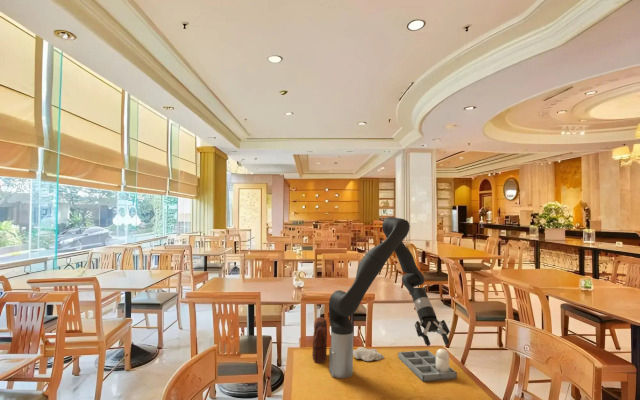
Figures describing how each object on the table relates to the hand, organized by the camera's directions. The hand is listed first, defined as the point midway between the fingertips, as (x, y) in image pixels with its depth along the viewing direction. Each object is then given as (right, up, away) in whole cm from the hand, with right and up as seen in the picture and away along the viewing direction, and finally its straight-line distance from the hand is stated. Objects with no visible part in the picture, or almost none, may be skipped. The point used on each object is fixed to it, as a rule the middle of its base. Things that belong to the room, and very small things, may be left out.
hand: (438, 344), depth 142 cm
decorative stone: (-28, -12, +13) cm, 33 cm away
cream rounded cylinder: (0, -10, -4) cm, 11 cm away
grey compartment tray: (-4, -11, +3) cm, 12 cm away
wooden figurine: (-51, -11, +10) cm, 53 cm away
